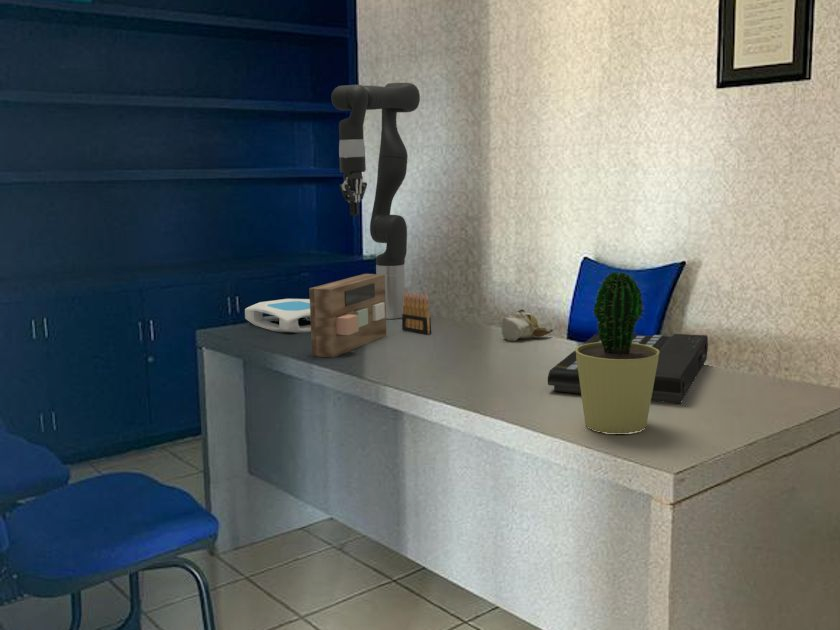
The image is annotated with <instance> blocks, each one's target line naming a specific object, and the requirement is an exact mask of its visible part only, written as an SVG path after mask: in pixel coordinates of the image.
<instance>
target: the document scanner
mask: <svg viewBox="0 0 840 630" xmlns="http://www.w3.org/2000/svg"><path fill="white" fill-rule="evenodd" d="M264 314H267V315H269V316H264ZM244 318H245V320H246V321H248V322H249V323H250V324H252V325H253V326H255V327H260V328H262V329H266V330H269V331H272V332H278V333H290V334H291V333H292V334H293V333H294V334H296V333H297V334H303V333H309V332H310V333H311V324H307V325H299V320H301V319H300V318H305V319H306V321H309V322H311V318H310V298H283V299H276V300H275V299H274V300H267V301H259V302H258V303H255V304H252V305H249V306H248V307H246V308H245V309H244ZM305 319H304V320H305ZM270 321H275V322H279V324H277V323H275V322H274V323H273V322H270Z"/></svg>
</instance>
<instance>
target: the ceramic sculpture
mask: <svg viewBox="0 0 840 630" xmlns="http://www.w3.org/2000/svg"><path fill="white" fill-rule="evenodd" d="M500 327H501V329H500V331H501V334H502V337H503V338H504V339H505V340H507V341H509V342H515V341H516V342H517V340H518V339H521V340H526V339H530V338H532V337H538V338H539V337H544V336H546V335H548V334H551V333H552V332H553V331H554V329H551V328H549V329H548V328H546V327H543V326H542V327H541V326H539V324H538V320H537V318H536V316H535V315H534V314H532V313H529V312H526V311H525V309H520V310H518V311H517V310H516V312H515V313H514V315H513V316H512V317H507V316H503V318H502V321H501V325H500Z"/></svg>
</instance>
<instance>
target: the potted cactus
mask: <svg viewBox="0 0 840 630" xmlns="http://www.w3.org/2000/svg"><path fill="white" fill-rule="evenodd" d="M627 271H628V270H627ZM631 273H632V272H631V271H630V273H625V272H623V270H622V272H617V271H612V272H611V273H610V272H609V271H608V273H606V277H603V279H600V281H599V280H598V281H597V283H599V284H601V287H600V288H598V287H597V292H596V294H595V295H596V296H593V299H595V301H593V302H592V303H594V305H592V308H593V313H592V314H591V315H593V316H591V318H592V317H595V318H596V320H597V321H596V324H597V328H595V331H597V330H598V331H597V332H596V334H599V335H598V336H599V337H600V339H601V340H600V341H601V342H598V341H597V342H596V343H588V344H584V343H583V344H584V345H582V344H581V345H580V344H579V345H578V346H577V347H575V348H574V351H575V352H576V359H577V366H578V373H579V381H580V388H581V396H580V397H581V402H582V409H583V416H584V424H585V426H586V425H587V427H589V428H591V429H593V430H596V431H600V432H607V433H629V432H635V431H640V430H642V429H644V428H645V427H646V428H647V425H648V418H649V415H650V407H651V397H652V391H653V386H654V380H655V375H656V369H657V364H658V358H659V350H658V349H656V348H654V347H651V346H648V345H643V344H637V343H632V342H633V341H632V337H633V335H639V334H638V332H637V331H636V329H635V328H636V327H637V325H638V324H639V322H640V319H641V320H644V317H643V316H642V315H643V314H644V315H646V313H645V312H643V310H646V306H645V305H646V304H645V303H643V302H644V301H645V300H646V298H645V299H644V298H643V295H642V293H643V291H640V290H641V289H643V286H641V287H640V286H638V284H639V283H640V281H637V280H634V279H633V278H632V275H633V274H631ZM639 325H640V324H639ZM598 336H597V337H598ZM587 427H586V428H587Z"/></svg>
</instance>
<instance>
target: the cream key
mask: <svg viewBox="0 0 840 630" xmlns="http://www.w3.org/2000/svg"><path fill="white" fill-rule="evenodd" d="M372 312H373V321H377V320H380V319H383V318H385V304H384V303H382V302H379V303H376V304H373V305H372Z"/></svg>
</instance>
